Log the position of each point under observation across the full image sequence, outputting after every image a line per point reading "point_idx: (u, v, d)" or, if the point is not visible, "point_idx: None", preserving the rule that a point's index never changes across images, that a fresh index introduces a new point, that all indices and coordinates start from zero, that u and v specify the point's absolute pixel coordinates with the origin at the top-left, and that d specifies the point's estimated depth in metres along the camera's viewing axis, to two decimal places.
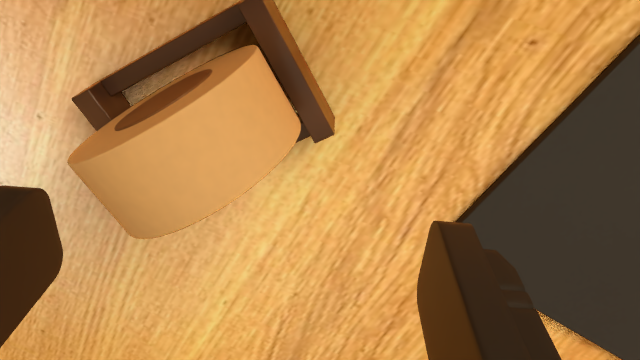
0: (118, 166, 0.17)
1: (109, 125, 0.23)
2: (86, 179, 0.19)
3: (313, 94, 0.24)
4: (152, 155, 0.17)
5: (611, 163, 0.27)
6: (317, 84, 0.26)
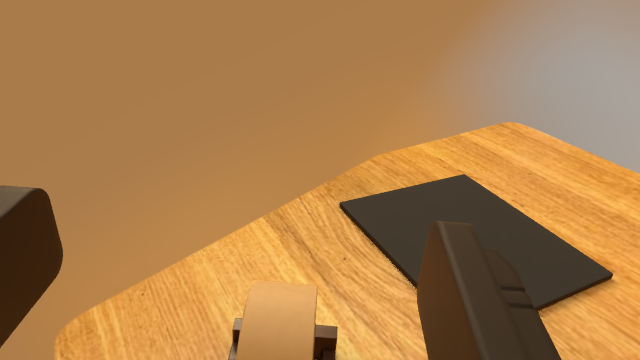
0: (256, 309, 0.27)
1: None
2: (251, 351, 0.25)
3: None
4: (263, 293, 0.28)
5: None
6: None
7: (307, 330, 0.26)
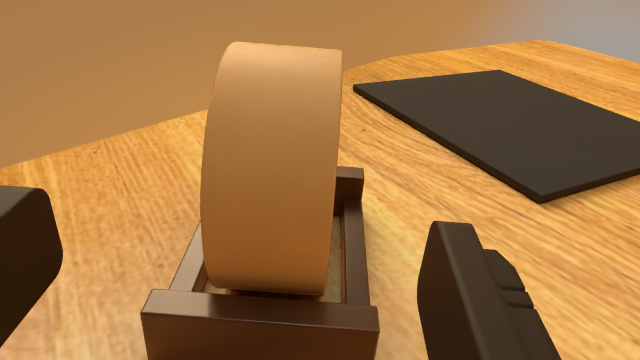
0: (245, 49, 0.16)
1: None
2: (236, 91, 0.15)
3: None
4: None
5: (468, 121, 0.38)
6: None
7: (330, 70, 0.16)
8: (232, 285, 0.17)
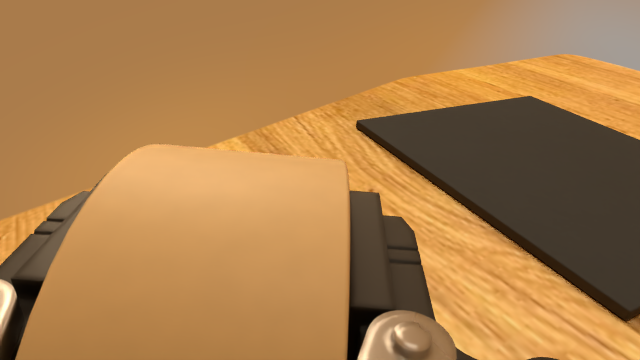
0: (129, 201, 0.07)
1: None
2: None
3: None
4: (172, 160, 0.08)
5: (505, 176, 0.29)
6: None
7: (321, 276, 0.06)
8: None
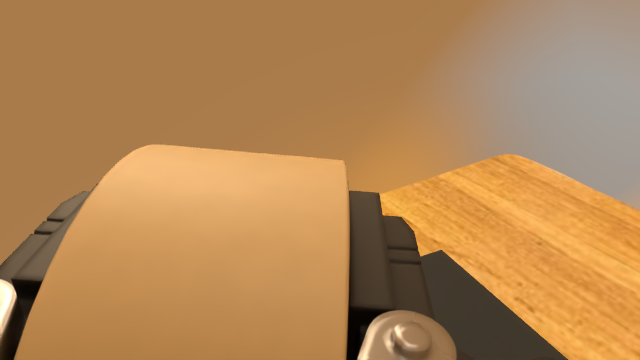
0: (129, 202, 0.07)
1: None
2: None
3: None
4: (171, 160, 0.08)
5: None
6: None
7: (320, 277, 0.06)
8: None
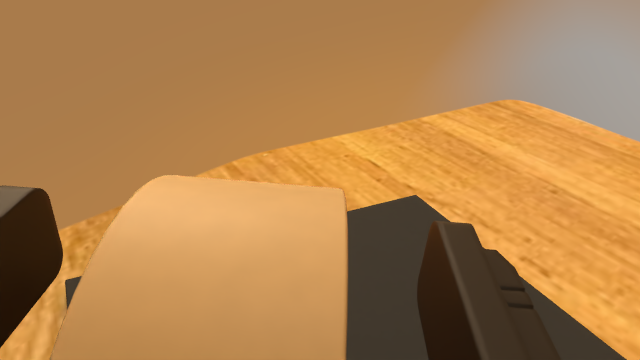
0: (146, 230, 0.08)
1: None
2: None
3: None
4: (184, 190, 0.09)
5: None
6: None
7: (322, 298, 0.07)
8: None
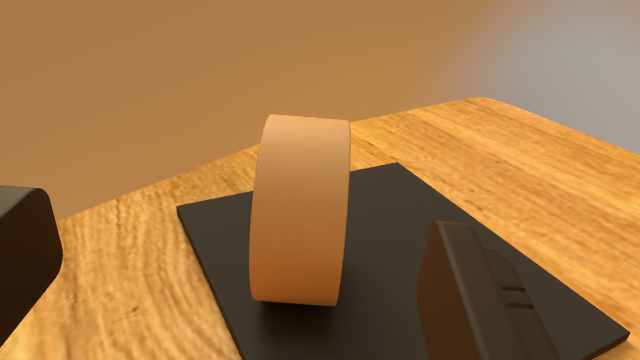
0: (282, 116, 0.24)
1: None
2: (278, 137, 0.22)
3: None
4: None
5: None
6: None
7: (342, 127, 0.23)
8: (266, 287, 0.22)
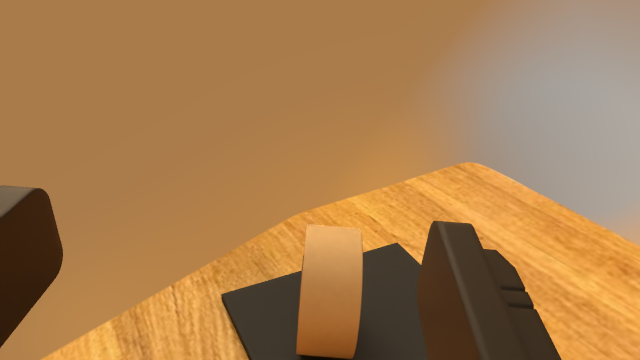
0: None
1: None
2: (317, 227, 0.35)
3: None
4: None
5: None
6: None
7: None
8: (310, 317, 0.31)
